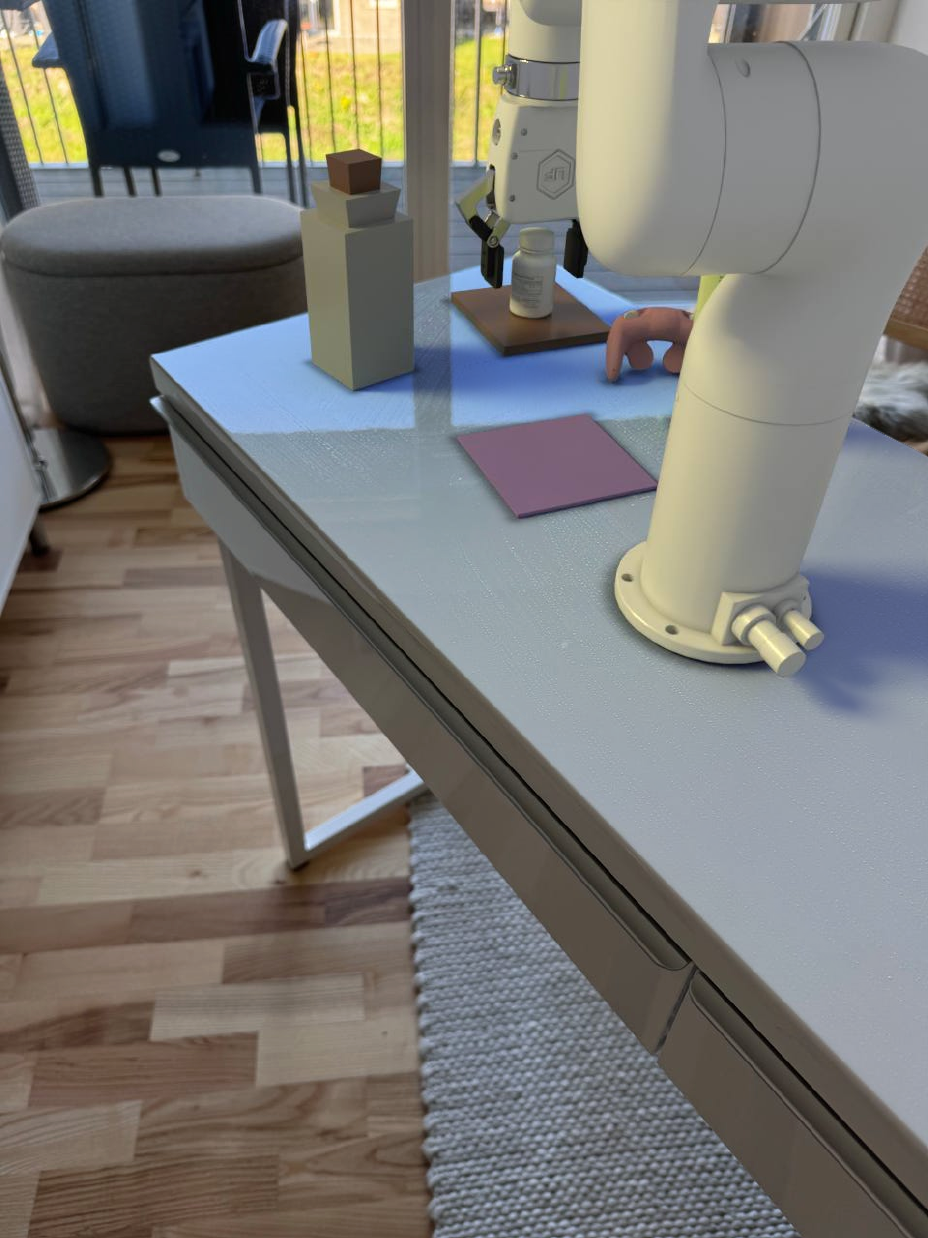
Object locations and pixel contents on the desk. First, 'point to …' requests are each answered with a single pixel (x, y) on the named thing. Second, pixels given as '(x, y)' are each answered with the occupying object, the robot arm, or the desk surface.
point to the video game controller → (648, 338)
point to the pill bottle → (533, 274)
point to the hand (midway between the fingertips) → (533, 277)
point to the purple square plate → (555, 464)
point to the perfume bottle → (359, 273)
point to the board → (530, 321)
